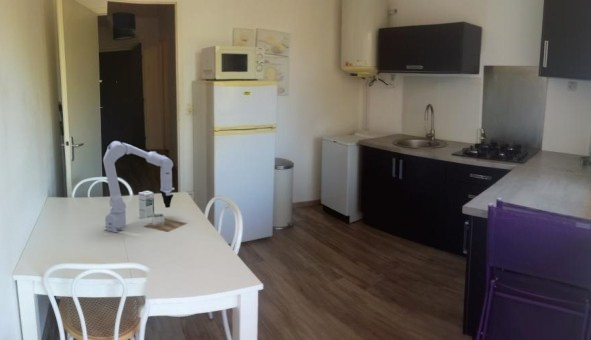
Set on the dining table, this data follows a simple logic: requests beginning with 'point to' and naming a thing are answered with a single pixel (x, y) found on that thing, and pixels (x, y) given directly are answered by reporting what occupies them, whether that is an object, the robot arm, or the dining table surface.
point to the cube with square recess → (158, 220)
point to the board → (167, 225)
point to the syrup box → (146, 204)
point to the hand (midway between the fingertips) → (166, 205)
